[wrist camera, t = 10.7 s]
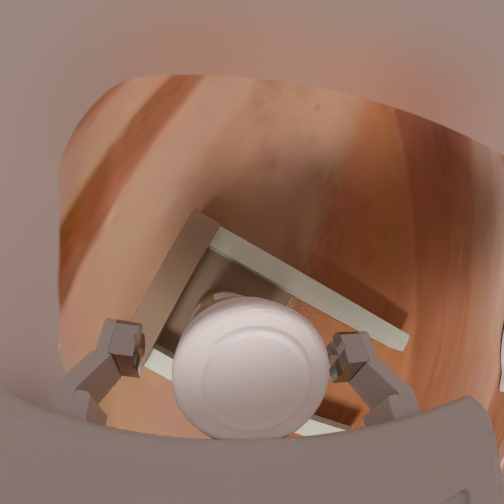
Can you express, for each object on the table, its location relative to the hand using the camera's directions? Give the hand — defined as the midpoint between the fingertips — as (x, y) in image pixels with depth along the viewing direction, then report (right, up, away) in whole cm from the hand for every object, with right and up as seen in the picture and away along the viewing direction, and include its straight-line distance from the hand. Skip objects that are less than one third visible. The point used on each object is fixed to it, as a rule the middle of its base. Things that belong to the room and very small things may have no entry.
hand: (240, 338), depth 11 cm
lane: (+3, -4, +9) cm, 11 cm away
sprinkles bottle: (-2, -1, +9) cm, 9 cm away
